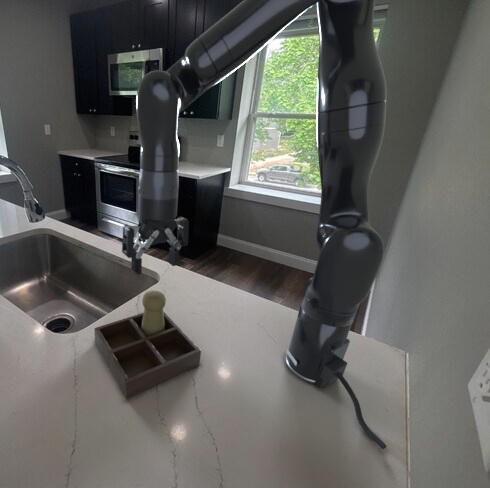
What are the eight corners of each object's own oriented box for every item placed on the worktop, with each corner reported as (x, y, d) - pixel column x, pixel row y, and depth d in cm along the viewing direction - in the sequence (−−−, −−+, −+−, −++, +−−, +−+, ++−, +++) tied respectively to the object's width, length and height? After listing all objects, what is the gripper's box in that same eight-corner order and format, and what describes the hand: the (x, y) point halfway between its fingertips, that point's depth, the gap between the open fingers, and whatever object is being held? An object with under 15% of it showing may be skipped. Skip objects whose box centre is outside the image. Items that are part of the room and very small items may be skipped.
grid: (199, 365, 62) (201, 350, 61) (126, 399, 54) (126, 383, 53) (159, 320, 75) (159, 307, 74) (95, 342, 67) (94, 328, 66)
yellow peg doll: (162, 345, 66) (164, 304, 62) (136, 340, 67) (137, 299, 63) (167, 327, 72) (170, 289, 67) (143, 323, 73) (144, 285, 68)
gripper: (133, 201, 50) (133, 285, 56) (200, 194, 57) (193, 268, 63) (115, 191, 56) (117, 268, 62) (178, 186, 63) (174, 255, 69)
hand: (155, 268), depth 63 cm, fingers open, 8 cm apart
